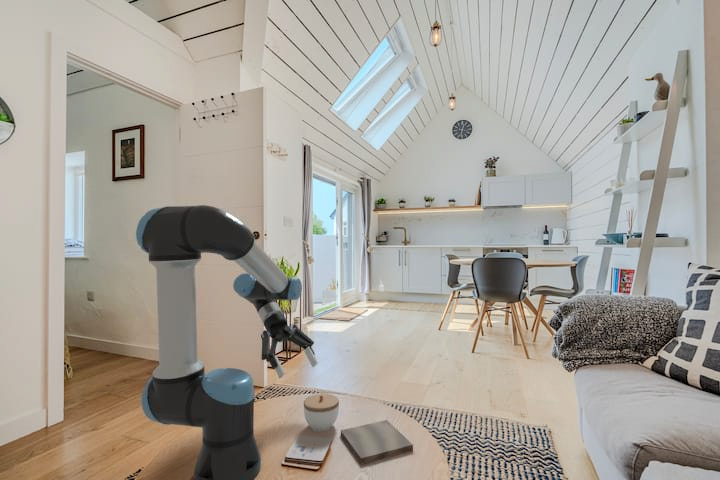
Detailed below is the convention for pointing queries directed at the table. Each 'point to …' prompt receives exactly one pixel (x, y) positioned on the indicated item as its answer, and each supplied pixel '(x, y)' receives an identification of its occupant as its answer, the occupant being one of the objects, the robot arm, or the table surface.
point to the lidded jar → (321, 411)
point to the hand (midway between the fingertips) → (299, 370)
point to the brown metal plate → (375, 441)
